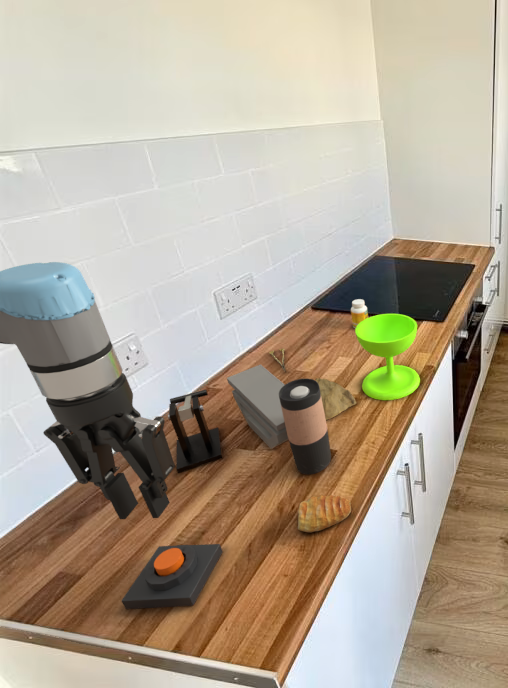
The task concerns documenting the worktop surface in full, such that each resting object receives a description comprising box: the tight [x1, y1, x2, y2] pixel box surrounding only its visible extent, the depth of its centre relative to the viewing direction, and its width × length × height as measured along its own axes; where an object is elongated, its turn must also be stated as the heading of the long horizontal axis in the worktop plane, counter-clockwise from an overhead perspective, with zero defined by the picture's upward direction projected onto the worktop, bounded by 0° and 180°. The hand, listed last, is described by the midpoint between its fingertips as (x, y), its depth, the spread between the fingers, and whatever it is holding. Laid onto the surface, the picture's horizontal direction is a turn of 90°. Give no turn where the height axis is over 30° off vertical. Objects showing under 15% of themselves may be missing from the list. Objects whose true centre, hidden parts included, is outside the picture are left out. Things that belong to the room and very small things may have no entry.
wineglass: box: [354, 313, 421, 401], centre depth 119 cm, size 16×16×18 cm
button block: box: [121, 543, 224, 610], centre depth 71 cm, size 10×9×4 cm
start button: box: [154, 548, 184, 576], centre depth 70 cm, size 4×4×2 cm
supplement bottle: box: [350, 298, 369, 330], centre depth 149 cm, size 5×5×10 cm
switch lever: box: [169, 389, 209, 422], centre depth 96 cm, size 13×7×2 cm, turn 34°
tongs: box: [268, 347, 287, 373], centre depth 129 cm, size 4×13×2 cm, turn 40°
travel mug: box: [279, 378, 332, 475], centre depth 91 cm, size 8×8×20 cm
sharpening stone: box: [226, 364, 289, 450], centre depth 102 cm, size 25×8×11 cm, turn 51°
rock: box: [315, 377, 357, 421], centre depth 109 cm, size 11×9×10 cm
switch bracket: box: [167, 397, 223, 474], centre depth 94 cm, size 10×8×13 cm
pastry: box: [297, 494, 352, 533], centre depth 83 cm, size 9×7×4 cm
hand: (145, 510), depth 65 cm, fingers open, 4 cm apart
